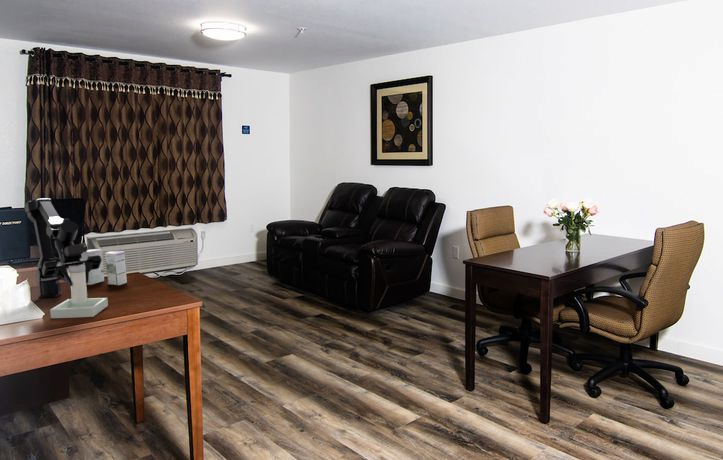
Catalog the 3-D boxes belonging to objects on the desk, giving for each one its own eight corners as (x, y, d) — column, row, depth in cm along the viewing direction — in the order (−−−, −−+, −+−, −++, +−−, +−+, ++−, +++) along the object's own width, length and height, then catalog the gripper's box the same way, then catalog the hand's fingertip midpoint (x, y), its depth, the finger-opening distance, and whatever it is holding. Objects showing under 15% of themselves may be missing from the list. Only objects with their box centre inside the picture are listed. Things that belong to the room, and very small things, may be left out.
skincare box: (90, 285, 230) (88, 251, 228) (79, 284, 232) (77, 251, 230) (105, 281, 238) (102, 248, 236) (94, 280, 240) (92, 248, 238)
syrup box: (127, 282, 234) (125, 250, 232) (117, 285, 228) (115, 253, 227) (117, 281, 236) (115, 250, 234) (107, 284, 230) (104, 252, 228)
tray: (50, 318, 181) (50, 309, 181) (68, 307, 195) (68, 299, 195) (93, 316, 183) (92, 308, 182) (107, 305, 197) (107, 297, 196)
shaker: (68, 302, 187) (65, 266, 186) (81, 298, 192) (78, 264, 190) (77, 303, 185) (75, 267, 183) (91, 300, 190) (88, 265, 188)
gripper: (41, 239, 181) (54, 275, 175) (98, 233, 195) (111, 266, 189) (36, 258, 188) (49, 293, 182) (91, 251, 201) (104, 284, 195)
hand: (79, 284), depth 187 cm, fingers closed on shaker, 5 cm apart
